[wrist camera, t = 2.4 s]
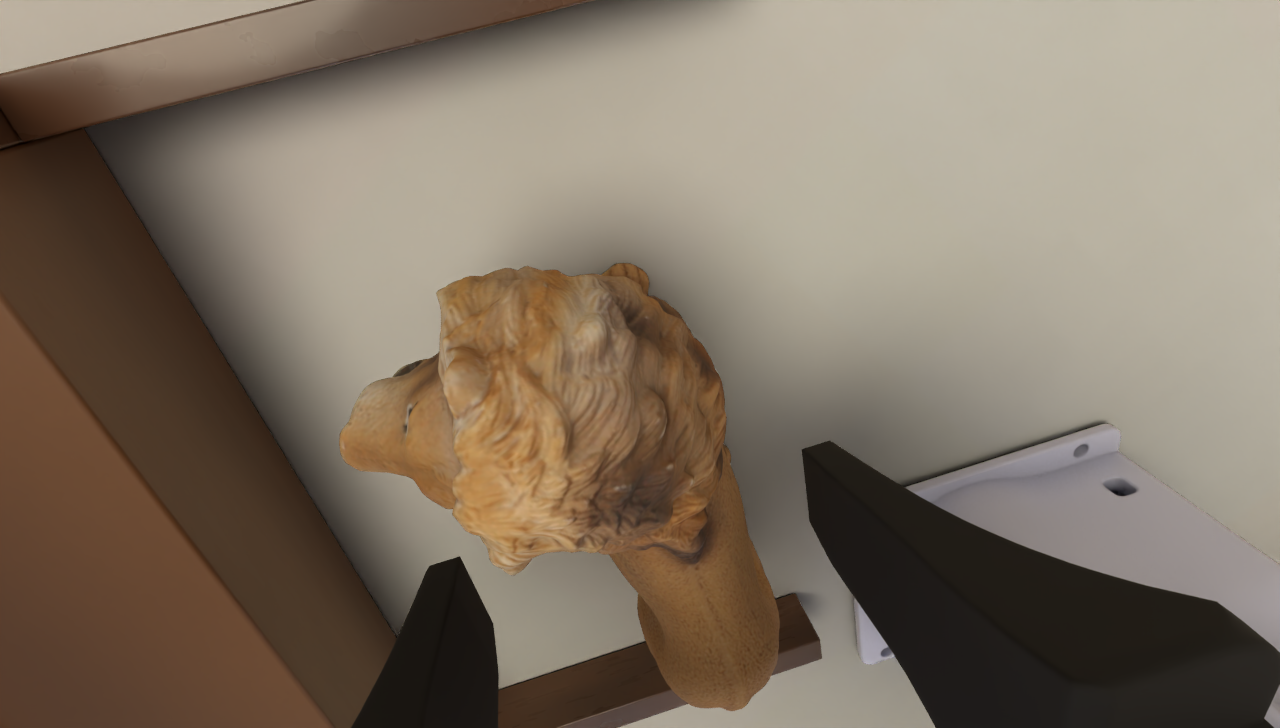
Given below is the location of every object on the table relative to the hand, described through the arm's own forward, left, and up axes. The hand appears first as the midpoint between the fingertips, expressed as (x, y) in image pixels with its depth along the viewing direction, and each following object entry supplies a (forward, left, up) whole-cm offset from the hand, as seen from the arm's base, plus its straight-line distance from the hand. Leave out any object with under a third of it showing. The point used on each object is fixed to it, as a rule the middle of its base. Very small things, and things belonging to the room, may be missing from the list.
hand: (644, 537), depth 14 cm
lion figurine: (0, 0, -5) cm, 5 cm away
